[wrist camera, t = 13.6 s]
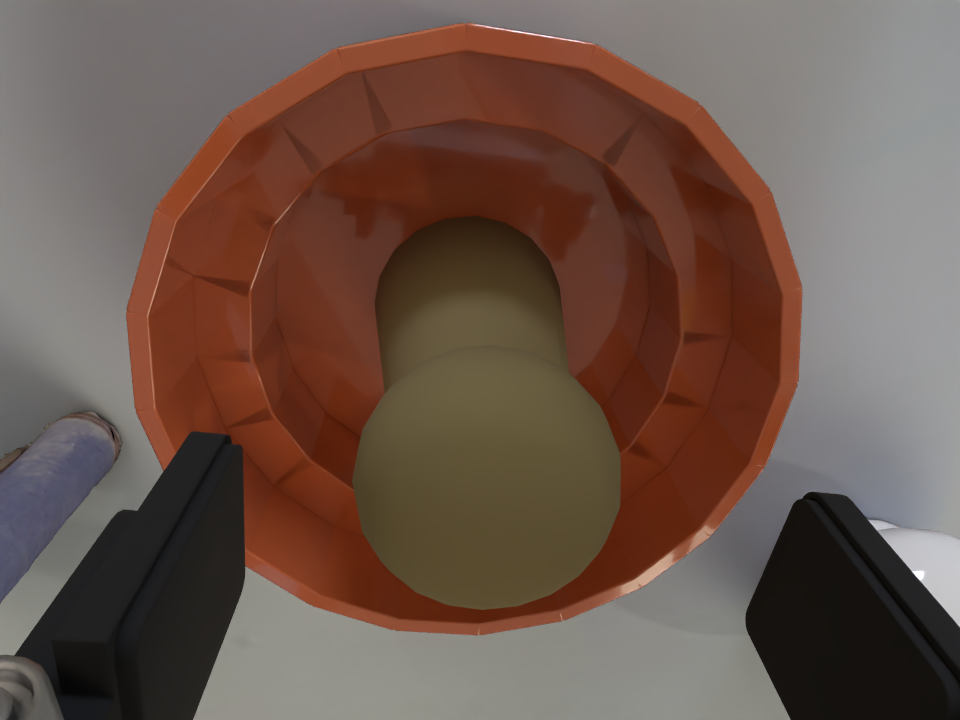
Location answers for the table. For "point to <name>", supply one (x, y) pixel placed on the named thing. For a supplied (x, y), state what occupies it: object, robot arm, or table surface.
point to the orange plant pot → (450, 194)
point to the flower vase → (929, 561)
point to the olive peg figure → (481, 425)
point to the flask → (49, 487)
